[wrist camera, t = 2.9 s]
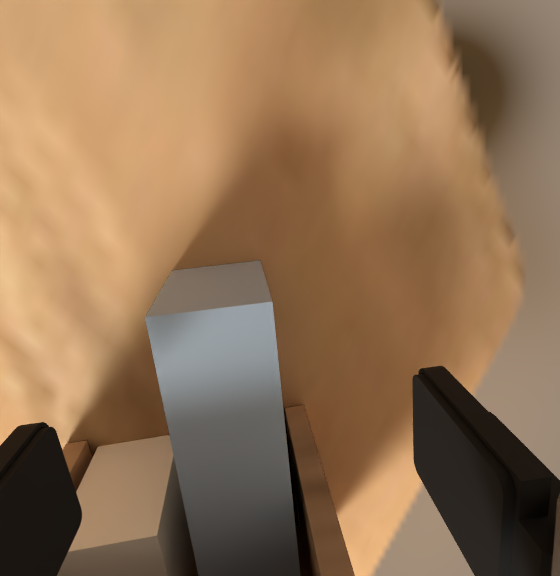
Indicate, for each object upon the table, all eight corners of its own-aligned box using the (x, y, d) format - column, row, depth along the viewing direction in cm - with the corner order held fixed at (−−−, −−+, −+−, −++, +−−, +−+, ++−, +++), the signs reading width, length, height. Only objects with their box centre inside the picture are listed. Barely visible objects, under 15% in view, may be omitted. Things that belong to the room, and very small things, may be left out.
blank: (172, 269, 18) (144, 317, 12) (260, 259, 18) (272, 301, 13) (212, 496, 22) (205, 612, 16) (284, 484, 22) (302, 594, 17)
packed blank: (98, 445, 20) (45, 555, 15) (178, 432, 21) (156, 535, 15) (129, 549, 22) (94, 680, 17) (201, 535, 23) (190, 660, 17)
